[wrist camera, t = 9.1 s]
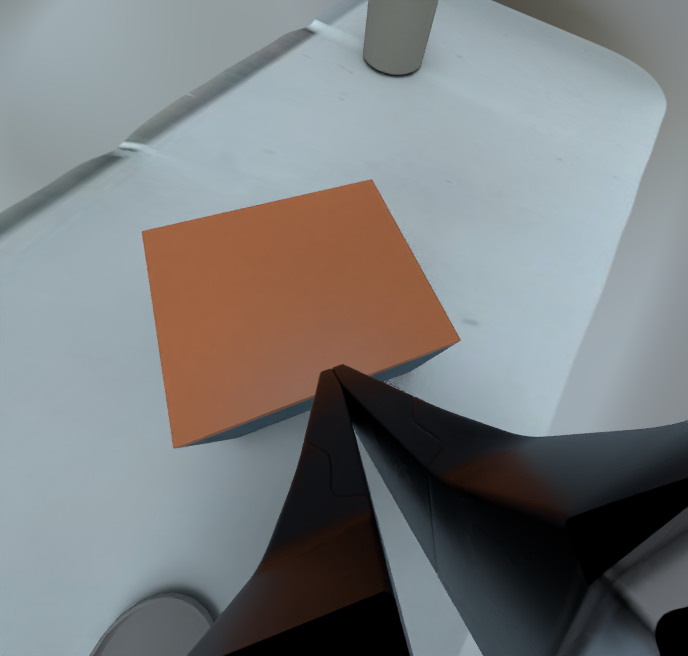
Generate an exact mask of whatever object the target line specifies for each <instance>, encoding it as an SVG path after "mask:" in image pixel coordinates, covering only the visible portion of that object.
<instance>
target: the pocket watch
mask: <svg viewBox="0 0 688 656" xmlns="http://www.w3.org/2000/svg"><path fill="white" fill-rule="evenodd" d="M213 623H214V621H213V619H212V617H211V615H210V614H209V612H208V610H207V609H206V608H204V607H203V606H202V605H201V604H200V603H199V602H198V601H197V600H196V599H194V598H192V597H189V596H186V595H184V594H181V593H164V594H158V595H154V596H152V597H150V598H147V599H144V600H143V601H141V602H139V603H138V604H136V605H135V606H133V607H132V608H130V609H129V610H127V611H126V612H125V613H123V614H122V615H121V616H120V617H119V618H118V619H117V620H116V621H115V622H114V623H113V624H112V625H111V626H110V628H109V629H108V630H107V631H106V632H105V633H104V635H103V636H102V637H101V638H100V640H99V641H98V643H97V644H96V646H95V648H94V649H93V651H92V652H91V654H90V655H89V656H187V654H188V653H189V652H190V651H191V650H192V648H193V647H194V646H195V645H196V644H197V642H198V641H199V640H200V639H201V638H202V636H203V635H204V634H205V633H206V632H207V630H208V629H209V628H210V627H211V626H212V624H213Z"/></svg>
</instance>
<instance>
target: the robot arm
mask: <svg viewBox="0 0 688 656" xmlns="http://www.w3.org/2000/svg"><path fill="white" fill-rule="evenodd" d="M353 428H354V429H355V431H356V433H357V435H358V437H359V439H360V440H361V442H362V444H363V446H364V447H365V449H366V451H367V453H368V454H369V456H370V458H371V460H372V461H373V463H374V465H375V467H376V468H377V470H378V472H379V474H380V475H381V477H382V479H383V481H384V482H385V484H386V486H387V488H388V489H389V491H390V493H391V495H392V496H393V498H394V500H395V502H396V503H397V505H398V507H399V509H400V510H401V512H402V514H403V516H404V517H405V519H406V521H407V523H408V524H409V526H410V528H411V530H412V531H413V533H414V535H415V537H416V538H417V540H418V542H419V544H420V546H421V547H422V549H423V551H424V553H425V554H426V556H427V558H428V560H429V561H430V563H431V565H432V567H433V568H434V570H435V572H436V573H437V574H438V577H439V579H440V581H441V582H442V584H443V586H444V588H445V589H446V591H447V593H448V595H449V597H450V598H451V600H452V602H453V604H454V605H455V607H456V609H457V611H458V612H459V614H460V616H461V618H462V619H463V621H464V623H465V625H466V626H467V628H468V630H469V632H470V633H471V635H472V637H473V639H474V640H475V642H476V644H477V646H478V647H479V649H480V651H481V652H482V654H483V656H688V420H686V421H684V422H680V423H676V424H672V425H666V426H661V427H654V428H646V429H637V430H624V431H611V432H598V433H585V434H572V435H561V436H547V437H529V436H522V435H518V434H513V433H510V432H507V431H503V430H501V429H498V428H495V427H492V426H489V425H486V424H483V423H480V422H477V421H475V420H472V419H469V418H466V417H463V416H460V415H457V414H455V413H452V412H449V411H447V410H444V409H441V408H439V407H436V406H434V405H432V404H429V403H427V402H425V401H423V400H420V399H418V398H416V397H413V396H412V395H409V394H407V393H405V392H403V391H401V390H399V389H396V388H394V387H392V386H390V385H388V384H385V383H383V382H381V381H379V380H377V379H375V378H372V377H370V376H368V375H366V374H364V373H362V372H359V371H357V370H355V369H353V368H351V367H349V366H346V365H344V364H341V365H338V366H335V367H333V368H332V369H331V368H330V369H327V370H324V371H321V372H320V376H319V380H318V384H317V388H316V392H315V397H314V401H313V405H312V409H311V414H310V418H309V422H308V426H307V430H306V435H305V439H304V443H303V447H302V451H301V455H300V459H299V462H298V466H297V469H296V472H295V475H294V478H293V481H292V484H291V487H290V490H289V492H288V495H287V498H286V500H285V503H284V506H283V508H282V511H281V513H280V516H279V519H278V521H277V524H276V527H275V529H274V532H273V535H272V537H271V540H270V543H269V545H268V548H267V550H266V552H265V554H264V556H263V558H262V561H261V562H260V564H259V566H258V568H257V570H256V571H255V573H254V574H253V576H252V577H251V579H250V580H249V581H248V582H247V584H246V585H245V586H244V587H243V588H242V590H241V591H240V592H239V593H238V594H237V596H236V597H235V598H234V599H233V600H232V602H231V603H230V604H229V605H228V606H227V608H226V609H225V610H224V611H223V612H222V614H221V615H220V616H219V617H218V618H217V620H216V621H215V622H214V623H213V624H212V626H211V627H210V628H209V629H208V630H207V632H206V633H205V634H204V635H203V636H202V638H201V639H200V640H199V641H198V642H197V644H196V645H195V646H194V647H193V648H192V650H191V651H190V652H189V653H188V654H187V656H413V653H412V649H411V645H410V641H409V638H408V634H407V630H406V626H405V622H404V619H403V615H402V611H401V607H400V603H399V600H398V596H397V592H396V588H395V584H394V581H393V577H392V573H391V569H390V565H389V562H388V558H387V554H386V550H385V546H384V543H383V539H382V535H381V531H380V527H379V524H378V520H377V516H376V512H375V509H374V505H373V501H372V497H371V493H370V490H369V486H368V482H367V478H366V474H365V471H364V467H363V463H362V459H361V455H360V452H359V448H358V444H357V440H356V436H355V433H354V429H353Z"/></svg>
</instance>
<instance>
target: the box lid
mask: <svg viewBox="0 0 688 656" xmlns="http://www.w3.org/2000/svg"><path fill="white" fill-rule="evenodd" d="M142 236H143V243H144V249H145V256H146V263H147V270H148V277H149V284H150V290H151V297H152V304H153V311H154V318H155V325H156V332H157V338H158V345H159V352H160V359H161V366H162V373H163V379H164V386H165V393H166V400H167V407H168V414H169V420H170V427H171V434H172V441H173V448H181V447H185V446H188V445H191V444H193V443H196V442H198V441H201V440H204V439H206V438H209V437H212V436H214V435H217V434H220V433H222V432H225V431H227V430H230V429H233V428H235V427H238V426H241V425H243V424H246V423H249V422H251V421H254V420H257V419H259V418H262V417H264V416H267V415H270V414H272V413H275V412H278V411H280V410H283V409H286V408H288V407H291V406H294V405H296V404H299V403H301V402H304V401H307V400H309V399H312V398H314V397H315V392H316V388H317V384H318V380H319V376H320V372H321V371H324V370H327V369H330V368H331V369H332V368H333V367H335V366H338V365H341V364H344V365H346V366H349V367H351V368H353V369H355V370H357V371H359V372H362V373H364V374H366V375H368V376H373V375H375V374H378V373H381V372H383V371H386V370H389V369H391V368H394V367H397V366H399V365H402V364H404V363H407V362H410V361H412V360H415V359H418V358H420V357H423V356H426V355H428V354H431V353H434V352H436V351H439V350H441V349H444V348H447V347H449V346H452V345H454V344H456V343H457V342H459V341H460V338H459V336H458V334H457V332H456V331H455V329H454V327H453V325H452V323H451V322H450V320H449V318H448V316H447V314H446V312H445V311H444V309H443V307H442V305H441V303H440V302H439V300H438V298H437V296H436V294H435V293H434V291H433V289H432V287H431V285H430V283H429V282H428V280H427V278H426V276H425V274H424V273H423V271H422V269H421V267H420V265H419V264H418V262H417V260H416V258H415V256H414V254H413V253H412V251H411V249H410V247H409V245H408V244H407V242H406V240H405V238H404V236H403V235H402V233H401V231H400V229H399V227H398V225H397V224H396V222H395V220H394V218H393V216H392V215H391V213H390V211H389V209H388V207H387V206H386V204H385V202H384V200H383V198H382V197H381V195H380V193H379V191H378V189H377V187H376V186H375V184H374V182H373V180H372V179H371V180H367V181H362V182H358V183H354V184H349V185H345V186H340V187H336V188H331V189H327V190H323V191H318V192H314V193H309V194H305V195H300V196H296V197H292V198H287V199H283V200H278V201H274V202H269V203H265V204H261V205H256V206H252V207H247V208H243V209H239V210H234V211H230V212H225V213H221V214H216V215H212V216H208V217H203V218H199V219H194V220H190V221H185V222H181V223H177V224H172V225H168V226H163V227H159V228H154V229H150V230H146V231H142Z"/></svg>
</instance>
